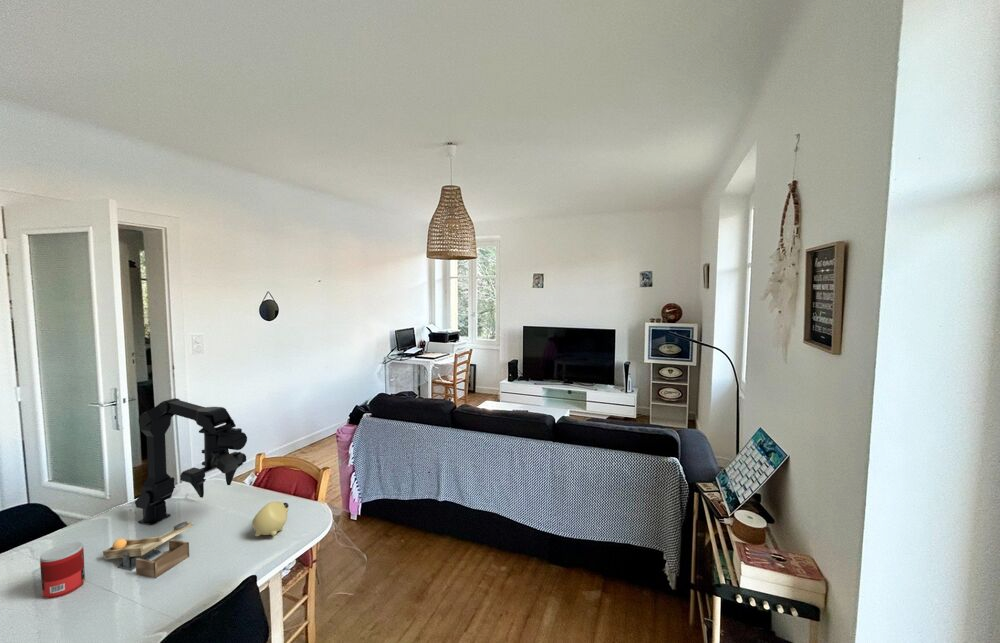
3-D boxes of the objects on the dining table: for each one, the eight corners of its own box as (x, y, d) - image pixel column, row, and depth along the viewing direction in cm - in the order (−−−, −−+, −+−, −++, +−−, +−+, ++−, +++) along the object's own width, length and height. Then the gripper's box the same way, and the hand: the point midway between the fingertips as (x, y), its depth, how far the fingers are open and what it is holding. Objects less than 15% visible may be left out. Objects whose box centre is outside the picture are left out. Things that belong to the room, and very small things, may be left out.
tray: (136, 574, 117) (135, 559, 117) (171, 552, 127) (170, 538, 126) (155, 578, 115) (154, 563, 115) (189, 556, 125) (188, 542, 125)
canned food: (91, 582, 113) (89, 544, 112) (52, 602, 106) (50, 562, 105) (75, 575, 116) (73, 538, 115) (35, 595, 108) (33, 555, 107)
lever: (104, 559, 122) (103, 551, 122) (159, 529, 137) (158, 522, 137) (141, 555, 119) (139, 547, 119) (193, 525, 134) (192, 518, 134)
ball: (110, 552, 123) (108, 542, 123) (122, 546, 126) (120, 536, 126) (118, 552, 122) (116, 542, 122) (130, 546, 126) (128, 536, 125)
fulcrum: (117, 567, 119) (117, 553, 119) (148, 550, 128) (147, 536, 127) (131, 570, 118) (130, 556, 118) (160, 552, 126) (160, 539, 126)
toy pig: (294, 521, 145) (294, 493, 144) (278, 542, 133) (277, 511, 132) (265, 522, 144) (265, 493, 143) (247, 543, 132) (246, 511, 131)
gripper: (203, 460, 125) (204, 509, 126) (257, 440, 142) (258, 483, 143) (178, 454, 128) (179, 502, 130) (234, 435, 146) (235, 477, 147)
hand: (215, 491), depth 137 cm, fingers open, 9 cm apart
